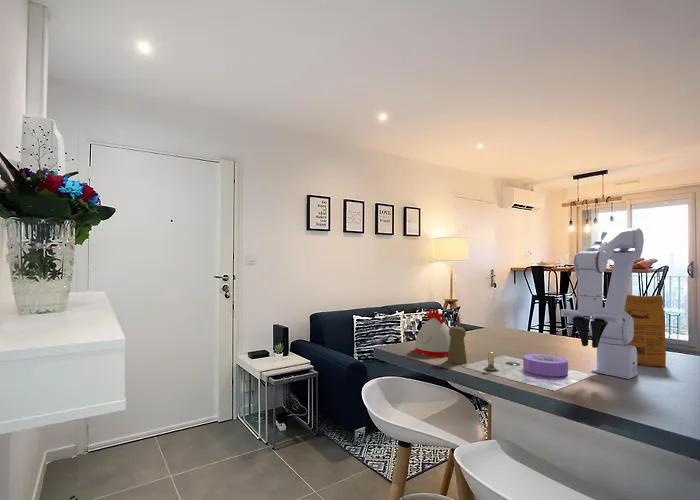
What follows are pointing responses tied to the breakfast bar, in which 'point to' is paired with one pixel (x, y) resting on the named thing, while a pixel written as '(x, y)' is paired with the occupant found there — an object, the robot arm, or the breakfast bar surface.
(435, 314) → the kitchen timer
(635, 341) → the coffee package
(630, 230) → the robot arm
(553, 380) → the light grey flat board
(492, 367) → the fixed brass pin
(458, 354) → the cork
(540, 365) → the masking tape
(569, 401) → the breakfast bar surface
